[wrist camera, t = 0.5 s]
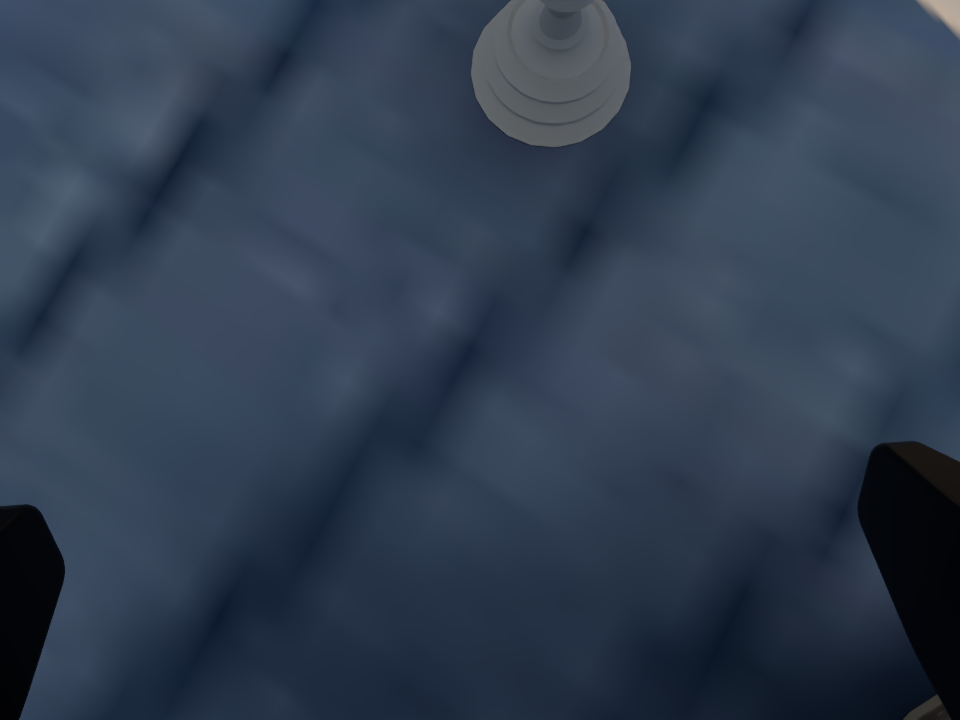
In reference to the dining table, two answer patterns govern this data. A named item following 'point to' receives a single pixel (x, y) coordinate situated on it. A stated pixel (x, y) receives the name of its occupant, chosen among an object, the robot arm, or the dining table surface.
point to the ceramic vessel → (929, 711)
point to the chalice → (551, 70)
